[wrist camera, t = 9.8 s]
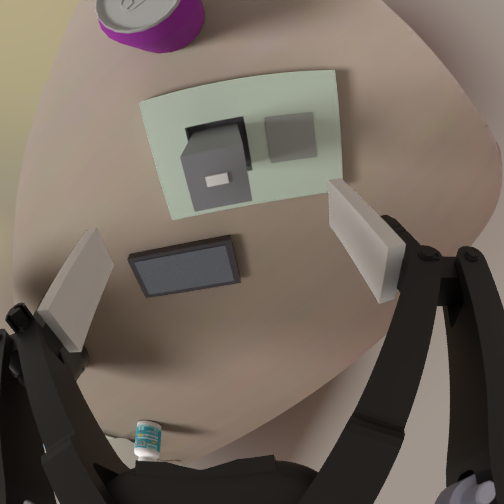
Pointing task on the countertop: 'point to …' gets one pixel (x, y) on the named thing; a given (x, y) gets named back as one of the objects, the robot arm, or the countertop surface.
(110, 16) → the beverage can
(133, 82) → the countertop surface
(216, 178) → the brick
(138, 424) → the pill bottle
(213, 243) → the phone
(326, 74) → the outlet plate
